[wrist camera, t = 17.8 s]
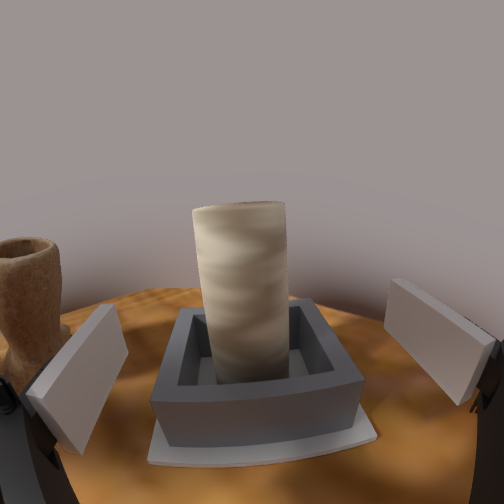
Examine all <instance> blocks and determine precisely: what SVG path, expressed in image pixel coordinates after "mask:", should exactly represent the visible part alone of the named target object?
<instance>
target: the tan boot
mask: <svg viewBox="0 0 504 504" xmlns="http://www.w3.org/2000/svg"><path fill="white" fill-rule="evenodd" d="M61 291H62V275H61V266H60V254H59V249H58V247H57V245H56V244H55V243H54V242H52V241H51V240H48V239H42V238H37V237H20V238H13V239H7V240H4V241H2V242H0V331H1V332H2V334H3V335H4V337H5V339H6V341H7V343H8V344H9V348H8V351H7V354H6V357H5V360H4V364H3V367H2V372H1V375H2V376H6V377H7V378H8V379H9V381H10V383H11V384H12V386H13V388H14V390H15V391H16V393H17V395H18V396H19V395H20V393H21V392H22V391H23V389H24V388H25V387H26V385H27V384H28V383H29V382H30V380H31V379H32V378H33V376H34V377H35V374H36V373H37V371H38V370H40V368H41V367H42V365H43V364H44V363H45V362H46V361H47V360H48V359H50V358H51V357H53V356H54V355H56V354H57V353H58V352H59V351H60V350H61V348H62V347H63V346H64V345H65V344H66V343H67V341H68V340H69V339H70V338H71V332H70V328H69V326H67V325H65V324H62V323H60V304H61Z"/></svg>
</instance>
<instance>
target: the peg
mask: <svg viewBox="0 0 504 504" xmlns="http://www.w3.org/2000/svg"><path fill="white" fill-rule="evenodd" d="M192 215H193V225H194V234H195V243H196V251H197V260H198V266H199V275H200V282H201V290H202V296H203V303H204V310H205V316H206V323H207V329H208V335H209V341H210V346H211V352H212V358H213V363H214V368H215V374H216V379H217V384H218V385H223V384H239V383H251V382H261V381H270V380H279V379H286V378H289V299H288V265H287V239H286V217H285V203H283V202H273V201H269V202H268V201H261V202H242V203H229V204H221V205H214V206H207V207H201V208H197V209H194V210H192Z"/></svg>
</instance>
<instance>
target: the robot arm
mask: <svg viewBox="0 0 504 504" xmlns="http://www.w3.org/2000/svg"><path fill="white" fill-rule="evenodd" d="M383 328H384V329H385V330H386V331H387V332H388V333H389V334H390V335H391V336H392V337H393V338H394V339H395V340H396V341H397V342H398V343H399V344H400V345H401V346H402V347H403V348H404V349H405V350H406V351H407V353H408V354H409V355H410V356H411V357H412V358H413V359H414V360H415V361H416V362H417V363H418V364H419V365H420V366H421V367H422V368H423V369H424V370H425V371H426V372H427V373H428V374H429V375H430V377H431V378H432V379H433V380H434V381H435V382H436V383H437V384H438V385H439V386H440V387H441V388H442V389H443V391H444V392H445V393H446V394H447V395H448V396H449V397H450V398H451V399H452V400H453V401H454V403H455V404H456V405H457V406H459V405H461V404H462V403H464V402H466V401H467V400H469V399H470V398H471V396H472V394H473V392H474V390H475V388H476V387H477V388H478V389H479V390H480V392H479V394H478V396H477V398H476V400H475V402H474V403H473V405H472V407H471V409H470V413H472V412H473V410H474V408H475V407H476V406H477V410H476V411H475V413H478V425H477V449H476V461H475V470H474V477H473V484H472V490H471V495H470V500H469V504H504V340H503V341H502V342H500V341H499V340H497V339H496V338H495V337H493V336H492V335H490V334H489V333H488V332H486V331H485V330H483V329H482V328H479V326H477V325H476V324H473V322H471V321H470V320H469V319H467V318H466V317H463V316H462V315H460V314H459V313H457V312H456V311H454V310H453V309H451V308H449V307H448V306H446V305H445V304H443V303H441V302H440V301H439V300H437V299H436V298H434V297H432V296H431V295H429V294H428V293H426V292H424V291H423V290H421V289H420V288H418V287H416V286H415V285H413V284H412V283H410V282H408V281H407V280H405V279H403V278H397V279H391V280H390V285H389V294H388V302H387V309H386V315H385V321H384V327H383ZM128 354H129V352H128V349H127V346H126V343H125V340H124V336H123V333H122V329H121V326H120V322H119V319H118V315H117V311H116V307H115V304H100V306H99V307H98V308H97V309H96V310H95V311H94V312H93V313H92V314H91V315H90V316H89V318H88V319H87V320H86V321H85V322H84V323H83V324H82V325H81V326H80V328H79V329H78V330H77V331H76V332H75V333H74V334H73V336H72V337H71V338H70V339H69V340H68V341H67V343H66V344H65V345H64V346H63V347H62V348H61V350H60V351H59V352H58V353H57V354H56V355H54V356H53V357H51V358H50V359H48V360H47V361H46V362H45V363H44V364H43V365H42V367H41V368H40V370H38V371H37V373H36V374H35V377H34V376H33V378H32V379H31V380H30V382H29V383H28V384H27V385H26V387H25V388H24V389H23V391H22V392H21V393H20V395H19V396H18V395H17V393H16V391H15V390H14V388H13V386H12V384H11V383H10V381H9V379H8V378H7V377H6V376H2V375H0V504H80V503H79V501H78V499H77V497H76V495H75V493H74V491H73V489H72V487H71V484H70V482H69V480H68V477H67V475H66V472H65V470H64V467H63V465H62V462H61V460H60V457H59V454H58V452H57V451H56V449H55V448H54V446H55V444H56V442H58V443H59V444H60V445H61V447H62V448H63V449H64V450H65V451H66V452H70V453H73V454H77V455H80V456H82V455H83V453H84V450H85V448H86V445H87V443H88V441H89V438H90V436H91V433H92V431H93V429H94V426H95V424H96V422H97V419H98V417H99V415H100V413H101V410H102V408H103V406H104V404H105V402H106V399H107V397H108V395H109V393H110V391H111V389H112V387H113V384H114V382H115V380H116V378H117V376H118V374H119V372H120V370H121V368H122V366H123V364H124V362H125V360H126V358H127V356H128Z"/></svg>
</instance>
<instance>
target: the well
mask: <svg viewBox="0 0 504 504" xmlns="http://www.w3.org/2000/svg"><path fill="white" fill-rule="evenodd" d="M364 382H365V379H364V377H363V375H362V374H361V372H360V371H359V369H358V368H357V366H356V365H355V363H354V362H353V360H352V359H351V357H350V356H349V354H348V353H347V351H346V350H345V348H344V347H343V345H342V344H341V342H340V341H339V339H338V338H337V336H336V335H335V333H334V332H333V330H332V329H331V327H330V326H329V324H328V323H327V321H326V320H325V318H324V317H323V315H322V314H321V313H320V311H319V310H318V308H317V307H316V305H315V304H314V302H313V301H312V299H311V298H306V299H296V300H289V378H286V379H279V380H270V381H261V382H251V383H239V384H223V385H218V384H217V379H216V374H215V368H214V363H213V358H212V352H211V346H210V341H209V335H208V329H207V323H206V316H205V310H204V307H201V308H183V309H180V311H179V314H178V316H177V319H176V322H175V325H174V328H173V331H172V334H171V337H170V339H169V342H168V345H167V348H166V351H165V354H164V357H163V360H162V363H161V367H160V370H159V373H158V376H157V379H156V382H155V385H154V389H153V392H152V395H151V398H150V403H151V405H152V408H153V410H154V413H155V415H156V417H157V419H156V423H155V427H154V431H153V435H152V440H151V444H150V448H149V453H148V457H147V461H148V463H149V464H150V465H160V466H172V467H191V468H225V467H245V466H257V465H267V464H275V463H282V462H289V461H295V460H301V459H306V458H312V457H316V456H321V455H326V454H330V453H334V452H338V451H342V450H346V449H349V448H353V447H356V446H360V445H363V444H366V443H369V442H372V441H375V440H376V439H377V436H378V435H377V433H376V432H375V430H374V428H373V426H372V424H371V423H370V421H369V419H368V417H367V415H366V414H365V412H364V410H363V408H362V407H361V405H360V403H359V402H360V398H361V394H362V390H363V386H364Z"/></svg>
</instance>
